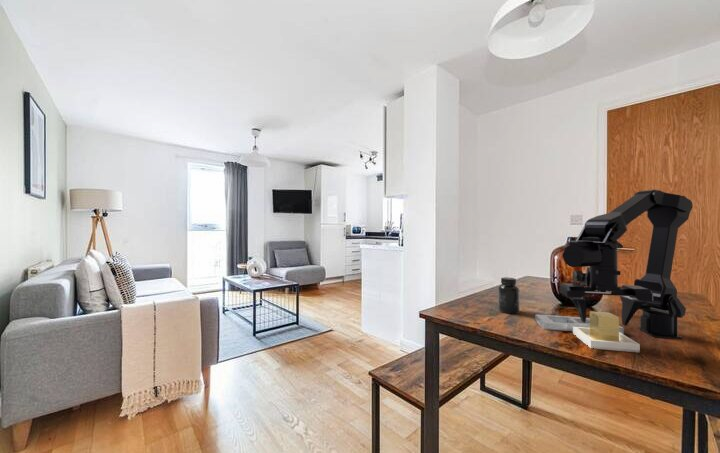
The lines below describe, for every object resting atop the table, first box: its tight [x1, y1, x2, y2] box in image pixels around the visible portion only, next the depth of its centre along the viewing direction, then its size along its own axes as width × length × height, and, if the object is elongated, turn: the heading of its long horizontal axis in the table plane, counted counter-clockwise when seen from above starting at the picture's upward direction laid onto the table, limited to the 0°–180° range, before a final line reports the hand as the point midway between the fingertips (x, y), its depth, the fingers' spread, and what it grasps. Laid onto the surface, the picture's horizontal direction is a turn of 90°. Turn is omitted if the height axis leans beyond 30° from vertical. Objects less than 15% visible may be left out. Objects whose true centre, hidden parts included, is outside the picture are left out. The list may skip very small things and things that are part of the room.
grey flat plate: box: [534, 314, 625, 335], centre depth 88 cm, size 20×8×2 cm, turn 75°
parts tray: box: [572, 327, 641, 354], centre depth 77 cm, size 10×10×2 cm
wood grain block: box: [589, 310, 620, 342], centre depth 77 cm, size 4×4×7 cm
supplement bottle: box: [497, 276, 520, 314], centre depth 105 cm, size 7×7×12 cm
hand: (603, 323), depth 77 cm, fingers open, 9 cm apart
